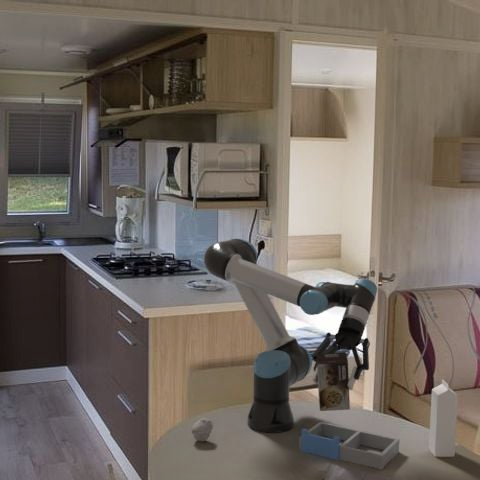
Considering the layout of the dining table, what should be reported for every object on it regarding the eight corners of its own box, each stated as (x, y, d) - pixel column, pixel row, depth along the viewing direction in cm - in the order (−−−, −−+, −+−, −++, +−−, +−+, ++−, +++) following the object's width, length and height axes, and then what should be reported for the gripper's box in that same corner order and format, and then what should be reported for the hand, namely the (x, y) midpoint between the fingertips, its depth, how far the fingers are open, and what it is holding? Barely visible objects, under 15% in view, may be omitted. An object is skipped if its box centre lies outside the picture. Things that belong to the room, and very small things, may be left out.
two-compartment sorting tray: (298, 450, 224) (298, 428, 223) (319, 433, 237) (320, 413, 236) (380, 470, 211) (381, 447, 210) (398, 451, 224) (399, 430, 223)
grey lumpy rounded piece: (217, 440, 230) (217, 418, 229) (200, 446, 225) (200, 424, 224) (203, 435, 234) (204, 413, 233) (186, 440, 229) (187, 419, 228)
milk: (447, 449, 227) (452, 378, 225) (454, 457, 221) (459, 385, 219) (428, 449, 227) (432, 378, 224) (434, 457, 221) (438, 384, 218)
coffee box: (348, 398, 228) (346, 351, 223) (350, 410, 222) (348, 362, 217) (318, 400, 229) (316, 352, 223) (319, 411, 222) (317, 363, 217)
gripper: (391, 334, 230) (371, 397, 219) (323, 325, 242) (300, 384, 230) (386, 321, 225) (365, 384, 214) (316, 311, 237) (293, 371, 225)
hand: (332, 384), depth 222 cm, fingers closed on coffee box, 11 cm apart
